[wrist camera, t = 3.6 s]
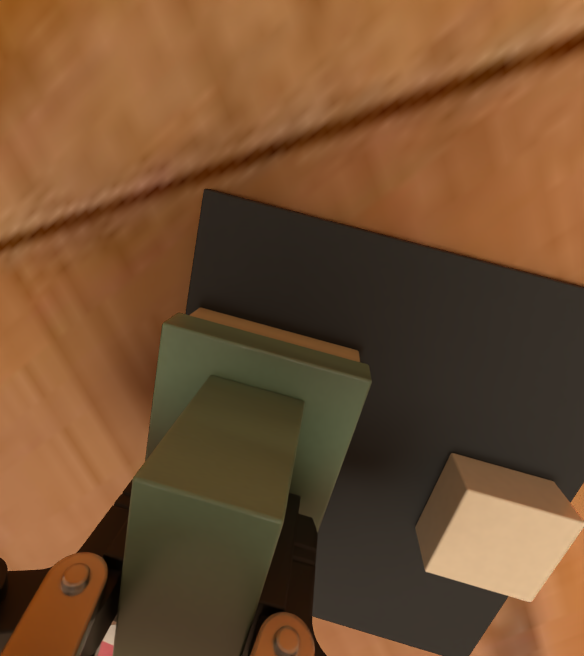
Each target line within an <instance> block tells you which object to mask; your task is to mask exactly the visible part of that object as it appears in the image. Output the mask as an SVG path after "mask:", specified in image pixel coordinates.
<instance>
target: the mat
mask: <svg viewBox="0 0 584 656" xmlns="http://www.w3.org/2000/svg"><path fill="white" fill-rule="evenodd" d="M198 308H205V309H208V310H212V311H216V312H219V313H223V314H227V315H230V316H234V317H237V318H241V319H245V320H248V321H252V322H256V323H259V324H263V325H267V326H270V327H274V328H278V329H281V330H285V331H289V332H292V333H296V334H300V335H303V336H307V337H311V338H314V339H318V340H321V341H325V342H329V343H332V344H336V345H340V346H343V347H347V348H351V349H354V350H357V351H359V357H360V362H361V363H364V364H368V365H369V368H370V374H371V380H372V383H371V386H370V389H369V392H368V394H367V397H366V400H365V403H364V405H363V408H362V411H361V414H360V417H359V419H358V422H357V425H356V428H355V430H354V433H353V436H352V439H351V441H350V444H349V447H348V450H347V453H346V455H345V458H344V461H343V464H342V466H341V469H340V472H339V475H338V478H337V480H336V483H335V486H334V489H333V491H332V494H331V497H330V500H329V502H328V505H327V508H326V511H325V514H324V516H323V519H322V522H321V525H320V527H319V530H318V539H317V551H316V553H317V554H316V564H315V566H316V568H315V582H314V597H313V611H312V616H313V617H316V618H320V619H323V620H326V621H330V622H333V623H336V624H340V625H343V626H346V627H349V628H353V629H356V630H359V631H363V632H366V633H369V634H373V635H376V636H379V637H382V638H386V639H389V640H392V641H396V642H399V643H402V644H406V645H409V646H412V647H415V648H419V649H422V650H425V651H429V652H432V653H435V654H439V655H442V656H469V655H470V654H471V652H472V651H473V649H474V648H475V646H476V645H477V643H478V642H479V640H480V639H481V637H482V636H483V634H484V633H485V631H486V630H487V628H488V627H489V625H490V624H491V622H492V620H493V619H494V617H495V616H496V614H497V613H498V611H499V610H500V608H501V607H502V605H503V604H504V602H505V601H506V599H507V598H508V596H506V595H503V594H499V593H496V592H493V591H489V590H486V589H482V588H479V587H476V586H472V585H469V584H466V583H462V582H459V581H455V580H452V579H449V578H445V577H442V576H438V575H435V574H432V573H428V572H426V571H425V569H424V565H423V560H422V556H421V552H420V547H419V543H418V539H417V534H416V530H415V527H416V524H417V522H418V520H419V518H420V516H421V514H422V512H423V510H424V508H425V506H426V504H427V502H428V500H429V498H430V495H431V493H432V491H433V489H434V487H435V485H436V483H437V481H438V479H439V477H440V475H441V473H442V471H443V469H444V467H445V464H446V462H447V460H448V458H449V456H450V454H451V453H455V454H459V455H462V456H466V457H469V458H473V459H476V460H480V461H484V462H487V463H491V464H494V465H498V466H501V467H505V468H508V469H512V470H515V471H519V472H523V473H526V474H530V475H533V476H537V477H540V478H544V479H547V480H551V481H554V482H555V483H556V485H557V486H558V487H559V489H560V490H561V491H562V492H563V494H564V495H565V496H566V498H567V499H568V500H569V502H571V501H572V499H573V498H574V496H575V495H576V493H577V492H578V490H579V489H580V487H581V486H582V484H583V483H584V287H581V286H578V285H574V284H570V283H566V282H562V281H559V280H555V279H551V278H547V277H543V276H539V275H536V274H532V273H528V272H524V271H520V270H517V269H513V268H509V267H505V266H501V265H497V264H494V263H490V262H486V261H482V260H478V259H474V258H471V257H467V256H463V255H459V254H455V253H452V252H448V251H444V250H440V249H436V248H432V247H429V246H425V245H421V244H417V243H413V242H409V241H406V240H402V239H398V238H394V237H390V236H387V235H383V234H379V233H375V232H371V231H367V230H364V229H360V228H356V227H352V226H348V225H344V224H341V223H337V222H333V221H329V220H325V219H322V218H318V217H314V216H310V215H306V214H302V213H299V212H295V211H291V210H287V209H283V208H280V207H276V206H272V205H268V204H264V203H260V202H257V201H253V200H249V199H245V198H241V197H237V196H234V195H230V194H226V193H222V192H218V191H215V190H211V189H204V193H203V199H202V206H201V213H200V219H199V226H198V233H197V240H196V246H195V253H194V260H193V267H192V273H191V280H190V287H189V293H188V300H187V307H186V315H190V314H192V313H193V312H194V311H196V310H197V309H198Z"/></svg>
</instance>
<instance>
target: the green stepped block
mask: <svg viewBox="0 0 584 656" xmlns="http://www.w3.org/2000/svg"><path fill="white" fill-rule="evenodd" d="M371 383H372V380H371V374H370V368H369V365H368V364H364V363H361V362H360V357H359V351H357V350H354V349H351V348H347V347H343V346H340V345H336V344H332V343H329V342H325V341H321V340H318V339H314V338H311V337H307V336H303V335H300V334H296V333H292V332H289V331H285V330H281V329H278V328H274V327H270V326H267V325H263V324H259V323H256V322H252V321H248V320H245V319H241V318H237V317H234V316H230V315H227V314H223V313H219V312H216V311H212V310H208V309H205V308H198V309H197V310H196V311H194V312H193V313H192V314H190V315H186V314H183V313H177V314H175V315H174V316H172V317H171V318H170V319H168V320H167V321H165V322H164V323H163V324H162V331H161V339H160V347H159V355H158V363H157V371H156V379H155V386H154V394H153V402H152V410H151V418H150V426H149V434H148V442H147V450H146V458H145V463H144V464H143V465H142V467H141V468H140V469H139V471H138V472H137V473H136V475H135V476H134V477H133V481H132V489H131V498H130V507H129V516H128V524H127V533H126V542H125V551H124V559H123V568H122V577H121V586H120V594H119V603H118V612H117V620H116V629H115V638H114V647H113V655H112V656H242V654H243V651H244V648H245V645H246V641H247V638H248V635H249V632H250V629H251V625H252V622H253V619H254V616H255V613H256V609H257V606H258V603H259V600H260V597H261V593H262V590H263V587H264V584H265V581H266V577H267V574H268V571H269V568H270V565H271V561H272V558H273V555H274V552H275V549H276V545H277V542H278V539H279V536H280V533H281V529H282V526H283V523H284V518H285V512H286V507H287V501H288V495H289V493H293V494H296V495H299V496H301V499H300V506H299V514H302V515H305V516H308V517H312V518H313V521H314V523H315V526H316V529H317V532H318V530H319V527H320V525H321V522H322V519H323V516H324V514H325V511H326V508H327V505H328V502H329V500H330V497H331V494H332V491H333V489H334V486H335V483H336V480H337V478H338V475H339V472H340V469H341V466H342V464H343V461H344V458H345V455H346V453H347V450H348V447H349V444H350V441H351V439H352V436H353V433H354V430H355V428H356V425H357V422H358V419H359V417H360V414H361V411H362V408H363V405H364V403H365V400H366V397H367V394H368V392H369V389H370V386H371Z"/></svg>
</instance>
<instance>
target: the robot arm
mask: <svg viewBox="0 0 584 656" xmlns="http://www.w3.org/2000/svg"><path fill="white" fill-rule="evenodd" d="M132 481H133V479H132V480H131V482H130V483H129V484H128V486H127V487H126V488H125V490H124V491H123V493H122V494H121V495H120V496H119V498H118V499H117V500H116V502H115V504H114V506H112V507H111V508H110V510H109V511H108V512H107V514H106V515H105V516H104V518H103V519H102V520H101V522H100V523H99V524H98V526H97V527H96V528H95V530H94V531H93V532H92V534H91V535H90V536H89V538H88V539H87V540H86V542H85V543H84V544H83V546H82V547H81V548H80V549H79V551H78V552H77V553H76V554H72V555H70V556H67V557H65V558H63V559H62V560H60V561H59V562H57V563H56V564H55V565H54V566H53V567H51V568H47V569H42V570H26V571H7V565H6V563H5V561H4V560H3V559H2V558H0V656H98V653H99V650H100V647H101V642H102V640H103V639H104V637H105V635H106V633H107V631H108V629H109V628H110V626H111V624H112V622H113V621H115V622H116V620H117V612H118V603H119V594H120V586H121V577H122V568H123V559H124V551H125V542H126V533H127V524H128V516H129V507H130V498H131V489H132ZM300 499H301V496H299V495H296V494H293V493H289V495H288V501H287V507H286V512H285V518H284V523H283V526H282V529H281V533H280V536H279V539H278V542H277V545H276V549H275V552H274V555H273V558H272V561H271V565H270V568H269V571H268V574H267V577H266V581H265V584H264V587H263V590H262V593H261V597H260V600H259V603H258V606H257V609H256V613H255V616H254V619H253V622H252V625H251V629H250V632H249V635H248V638H247V641H246V645H245V648H244V651H243V654H242V656H327V655H326V654H325V653H324V652H323V651H322V649H321V648H320V646H319V644H318V642H317V640H316V638H315V635H314V631H313V626H312V611H313V597H314V582H315V568H316V566H315V564H316V554H317V553H316V551H317V539H318V532H317V529H316V526H315V523H314V521H313V518H312V517H308V516H305V515H302V514H299V506H300Z"/></svg>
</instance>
